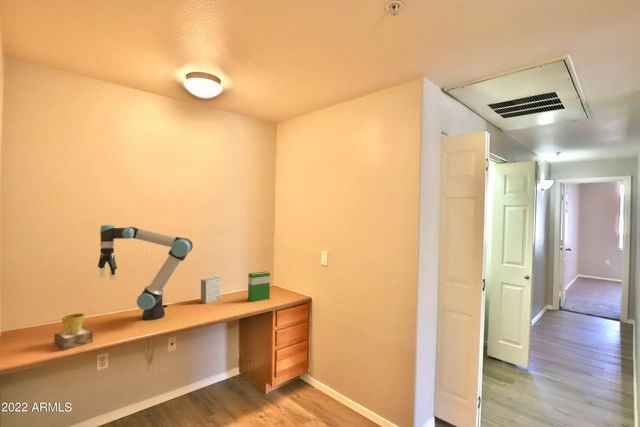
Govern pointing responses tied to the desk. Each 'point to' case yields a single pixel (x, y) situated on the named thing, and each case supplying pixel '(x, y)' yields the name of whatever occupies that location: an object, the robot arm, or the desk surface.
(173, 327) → the desk surface
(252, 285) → the hardback book
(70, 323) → the plant pot
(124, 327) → the desk surface
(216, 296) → the hard drive box
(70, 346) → the pedestal block
